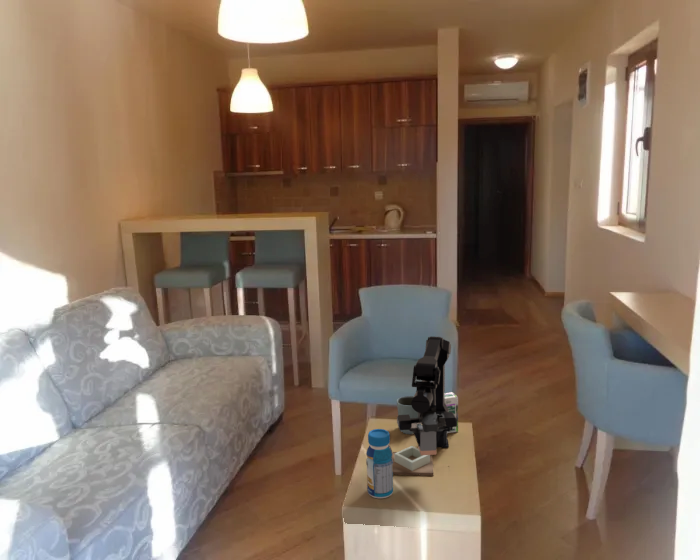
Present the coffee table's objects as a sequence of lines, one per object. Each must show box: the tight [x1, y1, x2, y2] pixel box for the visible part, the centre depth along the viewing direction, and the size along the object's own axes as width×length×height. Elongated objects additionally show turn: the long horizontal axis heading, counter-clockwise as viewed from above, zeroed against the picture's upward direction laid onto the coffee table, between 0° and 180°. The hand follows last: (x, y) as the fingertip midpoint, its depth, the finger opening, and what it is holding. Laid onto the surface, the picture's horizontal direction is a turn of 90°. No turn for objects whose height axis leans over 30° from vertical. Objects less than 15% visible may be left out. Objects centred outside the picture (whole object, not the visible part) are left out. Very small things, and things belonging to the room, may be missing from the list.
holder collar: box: [394, 445, 430, 471], centre depth 194 cm, size 9×9×3 cm
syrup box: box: [444, 391, 459, 434], centre depth 219 cm, size 6×6×14 cm
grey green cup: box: [396, 395, 422, 435], centre depth 221 cm, size 10×10×12 cm
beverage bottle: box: [365, 428, 394, 499], centre depth 176 cm, size 8×8×20 cm
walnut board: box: [392, 451, 434, 477], centre depth 194 cm, size 14×14×1 cm
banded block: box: [417, 424, 437, 456], centre depth 183 cm, size 5×5×8 cm
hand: (427, 445), depth 183 cm, fingers closed on banded block, 5 cm apart
